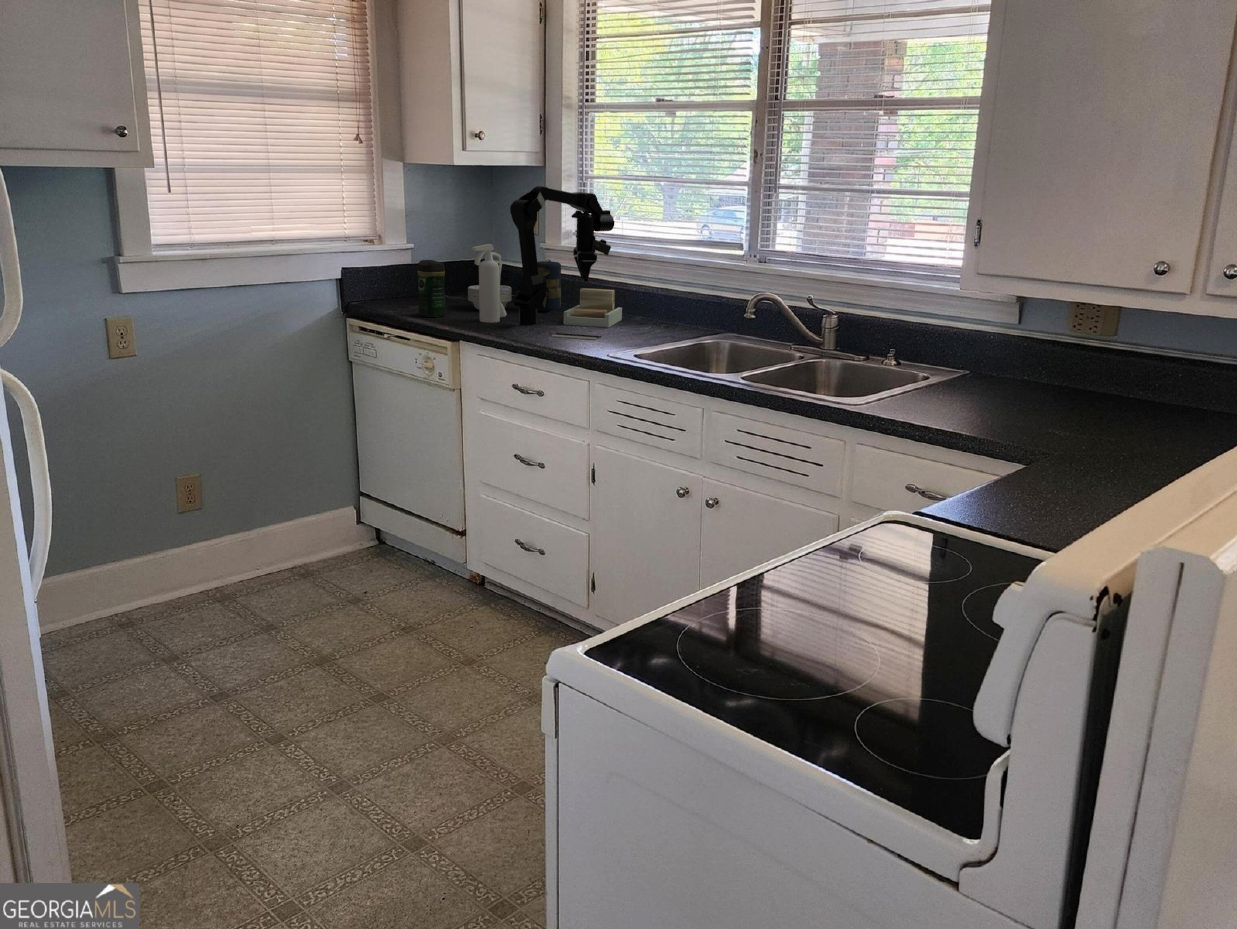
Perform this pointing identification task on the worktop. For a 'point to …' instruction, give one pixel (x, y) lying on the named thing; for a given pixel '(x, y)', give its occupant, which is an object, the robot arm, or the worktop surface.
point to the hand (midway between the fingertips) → (584, 280)
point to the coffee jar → (431, 288)
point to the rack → (596, 322)
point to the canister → (551, 284)
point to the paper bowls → (504, 297)
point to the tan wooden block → (597, 299)
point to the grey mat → (576, 336)
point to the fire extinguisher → (489, 285)
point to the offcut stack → (589, 313)
